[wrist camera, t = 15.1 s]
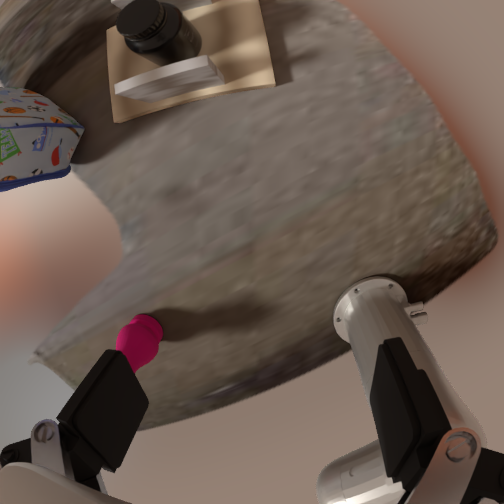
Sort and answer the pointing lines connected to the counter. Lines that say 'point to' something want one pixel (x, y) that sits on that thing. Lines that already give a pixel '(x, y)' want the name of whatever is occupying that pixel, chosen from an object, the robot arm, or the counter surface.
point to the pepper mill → (140, 340)
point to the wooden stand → (193, 60)
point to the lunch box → (34, 138)
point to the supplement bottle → (158, 32)
